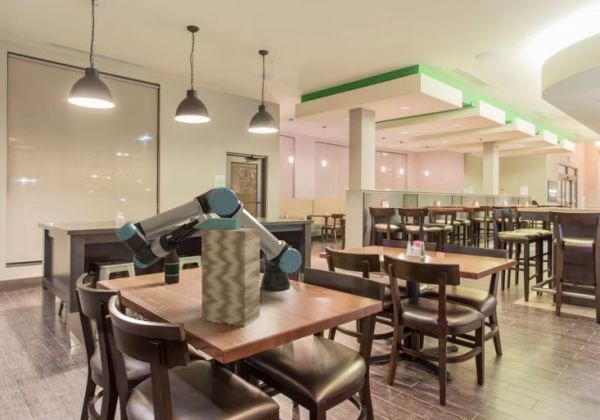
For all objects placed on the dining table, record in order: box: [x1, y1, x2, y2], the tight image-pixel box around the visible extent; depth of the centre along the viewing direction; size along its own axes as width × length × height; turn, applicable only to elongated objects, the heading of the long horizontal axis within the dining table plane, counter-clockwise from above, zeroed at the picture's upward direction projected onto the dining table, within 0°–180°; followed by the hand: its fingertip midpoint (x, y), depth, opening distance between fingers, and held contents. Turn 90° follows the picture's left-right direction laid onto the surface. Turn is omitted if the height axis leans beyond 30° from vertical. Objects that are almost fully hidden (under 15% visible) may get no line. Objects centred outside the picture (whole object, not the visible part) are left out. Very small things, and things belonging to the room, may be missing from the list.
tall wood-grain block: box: [201, 228, 261, 327], centre depth 146 cm, size 18×12×34 cm, turn 70°
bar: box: [189, 217, 241, 230], centre depth 148 cm, size 20×4×4 cm, turn 70°
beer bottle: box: [164, 249, 180, 285], centre depth 209 cm, size 8×8×24 cm
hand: (208, 216), depth 149 cm, fingers closed on bar, 4 cm apart
